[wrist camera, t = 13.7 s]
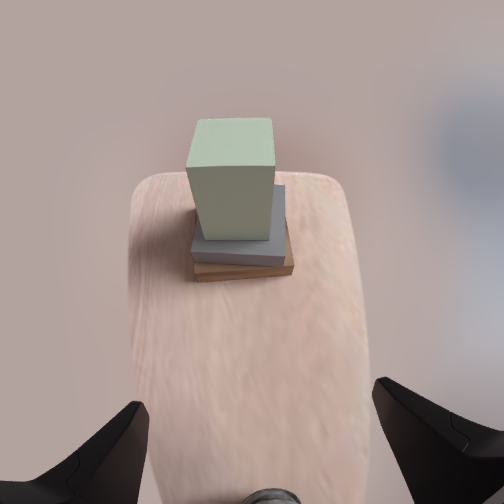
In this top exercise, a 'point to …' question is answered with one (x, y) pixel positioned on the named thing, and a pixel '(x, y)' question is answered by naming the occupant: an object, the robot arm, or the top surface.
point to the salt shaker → (272, 497)
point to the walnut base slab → (244, 267)
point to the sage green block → (233, 177)
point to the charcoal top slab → (246, 242)
